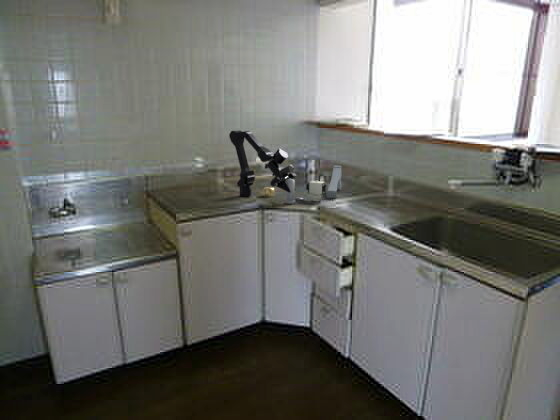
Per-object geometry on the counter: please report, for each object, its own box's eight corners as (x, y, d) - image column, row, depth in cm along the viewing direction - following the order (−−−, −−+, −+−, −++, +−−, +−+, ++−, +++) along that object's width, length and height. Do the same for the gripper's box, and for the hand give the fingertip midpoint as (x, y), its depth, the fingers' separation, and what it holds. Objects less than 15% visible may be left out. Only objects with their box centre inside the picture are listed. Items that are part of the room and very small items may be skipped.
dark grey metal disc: (292, 200, 220) (292, 198, 219) (294, 198, 226) (294, 196, 226) (303, 201, 218) (303, 199, 218) (305, 198, 224) (305, 197, 224)
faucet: (337, 213, 233) (343, 184, 255) (336, 190, 222) (343, 162, 244) (327, 212, 234) (334, 183, 256) (325, 190, 224) (333, 162, 246)
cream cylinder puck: (262, 196, 230) (262, 188, 228) (265, 194, 236) (265, 186, 235) (272, 197, 228) (272, 189, 227) (275, 195, 234) (275, 187, 233)
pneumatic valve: (324, 202, 215) (325, 181, 212) (305, 200, 220) (306, 179, 217) (328, 200, 219) (329, 180, 216) (309, 198, 225) (310, 178, 222)
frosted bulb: (284, 203, 211) (284, 180, 208) (286, 201, 216) (286, 178, 213) (294, 204, 210) (294, 180, 207) (296, 202, 215) (296, 179, 212)
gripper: (274, 161, 202) (291, 184, 199) (294, 158, 217) (310, 179, 214) (263, 175, 209) (279, 197, 205) (282, 171, 223) (298, 192, 220)
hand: (292, 191), depth 211 cm, fingers closed on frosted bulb, 5 cm apart
